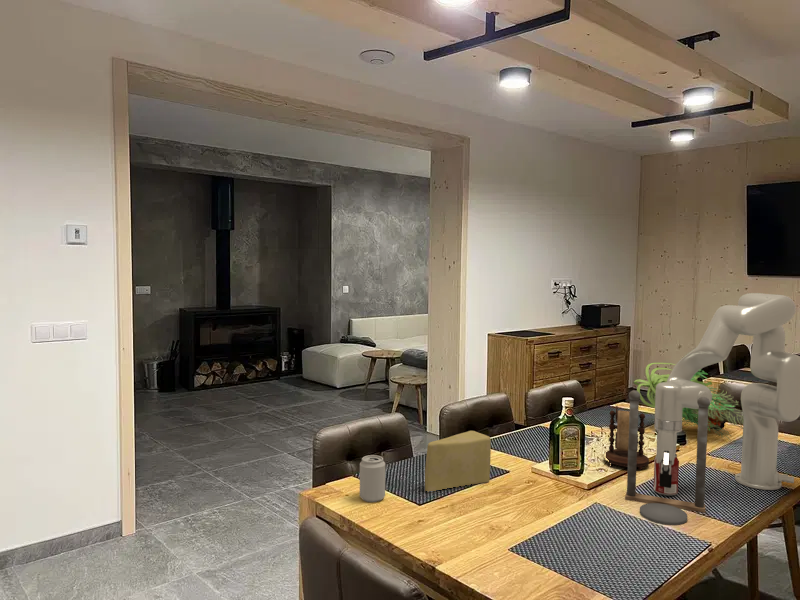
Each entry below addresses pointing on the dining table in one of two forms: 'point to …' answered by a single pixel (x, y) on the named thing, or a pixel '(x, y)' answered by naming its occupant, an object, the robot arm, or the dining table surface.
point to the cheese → (458, 461)
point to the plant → (715, 416)
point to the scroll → (624, 440)
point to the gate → (700, 462)
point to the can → (372, 478)
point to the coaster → (663, 514)
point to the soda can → (675, 474)
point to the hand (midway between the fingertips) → (665, 482)
